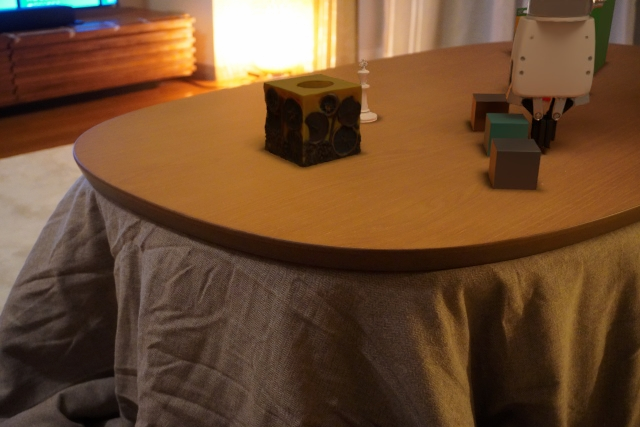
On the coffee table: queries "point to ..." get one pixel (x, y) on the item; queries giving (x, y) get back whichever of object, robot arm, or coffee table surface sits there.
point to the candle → (312, 119)
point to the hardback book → (602, 31)
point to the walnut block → (486, 108)
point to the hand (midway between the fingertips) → (541, 145)
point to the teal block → (504, 127)
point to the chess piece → (363, 77)
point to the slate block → (514, 163)
